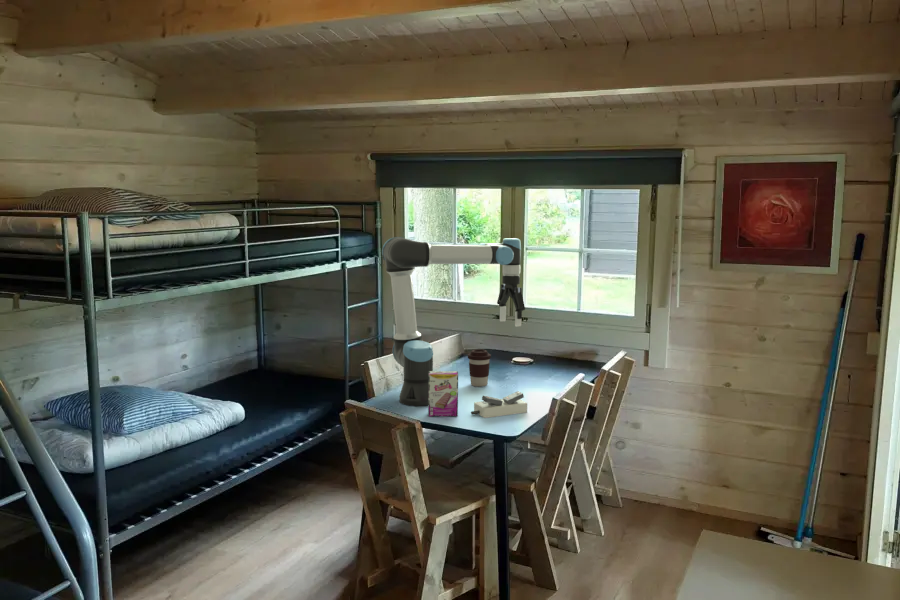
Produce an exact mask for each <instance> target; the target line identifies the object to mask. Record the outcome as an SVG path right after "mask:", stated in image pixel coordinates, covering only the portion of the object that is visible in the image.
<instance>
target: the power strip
mask: <svg viewBox="0 0 900 600" xmlns="http://www.w3.org/2000/svg"><path fill="white" fill-rule="evenodd" d="M499 399H500V400H502V401H503V402H502V405H498V404H493V403H488V402H485V401H483V400H482V401H475V402H474V403H473V410H472V411H471V412H470V413H471V415H472V416H473V415H479V416H481V418H484V419H486V418H496V417H503V416H509V415H515V414H523V413H524V414H526V413H528V402H525V401H523V400H522V399H519V400H517V401H515V402H513V403H511V404H507V403H505V402H504V400H503V398H499Z"/></svg>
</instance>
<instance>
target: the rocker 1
mask: <svg viewBox="0 0 900 600" xmlns="http://www.w3.org/2000/svg"><path fill="white" fill-rule="evenodd" d="M500 399H501V398H497V397H492V396H489V395H482V396H481V400H482V401H485V402H488V403H493V404H498V405H502V402H503V401H502V400H500Z"/></svg>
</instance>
